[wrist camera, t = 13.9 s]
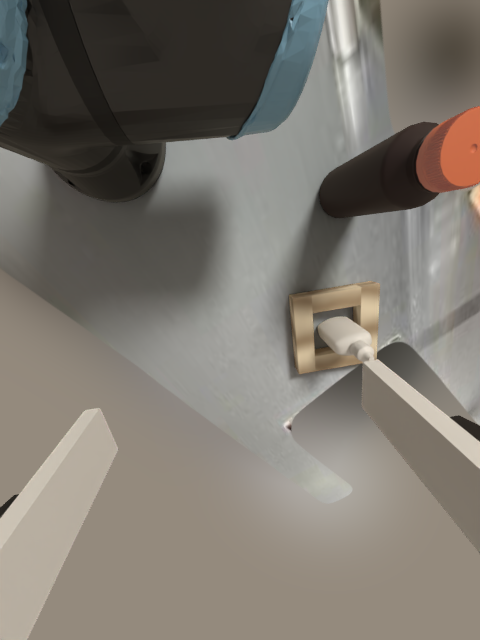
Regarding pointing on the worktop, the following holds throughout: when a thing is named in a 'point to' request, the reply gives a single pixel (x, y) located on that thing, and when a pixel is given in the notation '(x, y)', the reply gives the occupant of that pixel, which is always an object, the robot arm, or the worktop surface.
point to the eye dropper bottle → (347, 338)
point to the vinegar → (407, 168)
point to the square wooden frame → (307, 303)
